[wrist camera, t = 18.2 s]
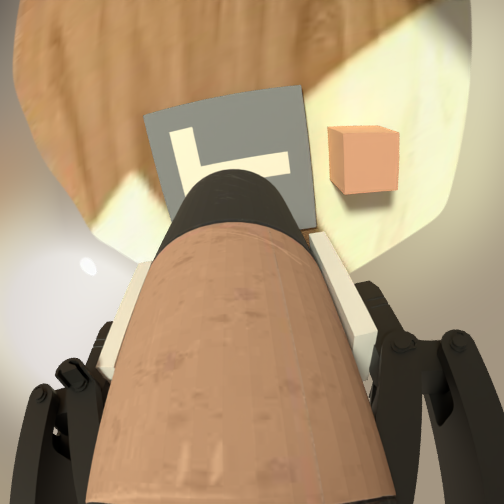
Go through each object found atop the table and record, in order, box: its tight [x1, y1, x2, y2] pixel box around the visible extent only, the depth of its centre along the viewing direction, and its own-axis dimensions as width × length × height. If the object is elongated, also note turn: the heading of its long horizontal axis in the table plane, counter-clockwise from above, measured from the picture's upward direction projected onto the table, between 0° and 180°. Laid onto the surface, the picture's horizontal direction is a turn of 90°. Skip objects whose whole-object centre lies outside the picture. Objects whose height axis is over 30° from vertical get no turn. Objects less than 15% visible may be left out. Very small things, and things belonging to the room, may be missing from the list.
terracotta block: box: [327, 126, 399, 195], centre depth 28 cm, size 6×6×5 cm
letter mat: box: [143, 85, 316, 229], centre depth 30 cm, size 16×16×1 cm
